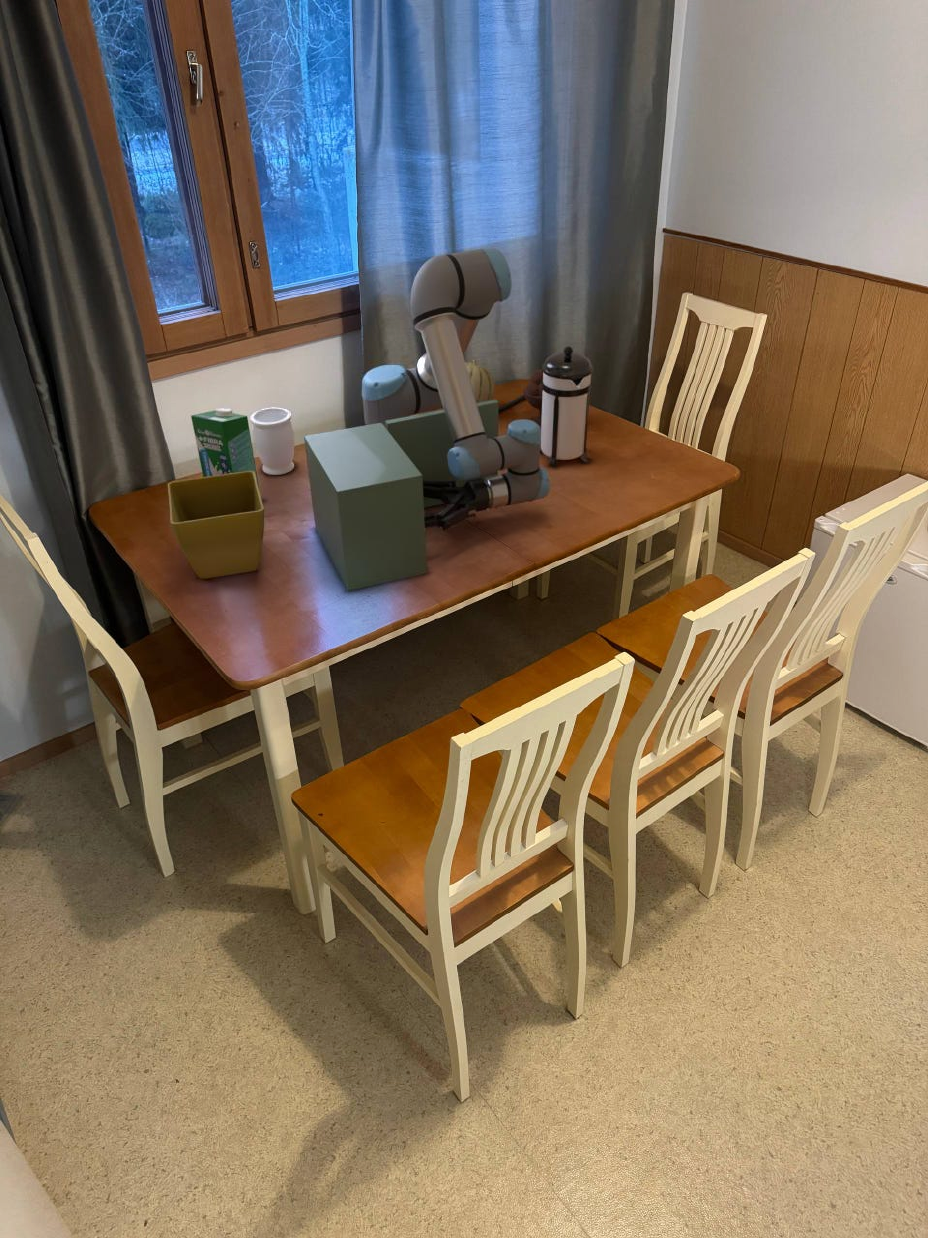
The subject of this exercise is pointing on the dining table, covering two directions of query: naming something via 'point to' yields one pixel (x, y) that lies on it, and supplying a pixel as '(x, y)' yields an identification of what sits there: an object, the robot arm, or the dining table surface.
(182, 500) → the flower pot
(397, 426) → the cupboard door
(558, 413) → the coffee press
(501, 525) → the dining table surface
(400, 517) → the cupboard
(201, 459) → the milk carton
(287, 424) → the jar
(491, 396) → the cantaloupe
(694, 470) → the dining table surface
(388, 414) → the robot arm
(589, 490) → the dining table surface
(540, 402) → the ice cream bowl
